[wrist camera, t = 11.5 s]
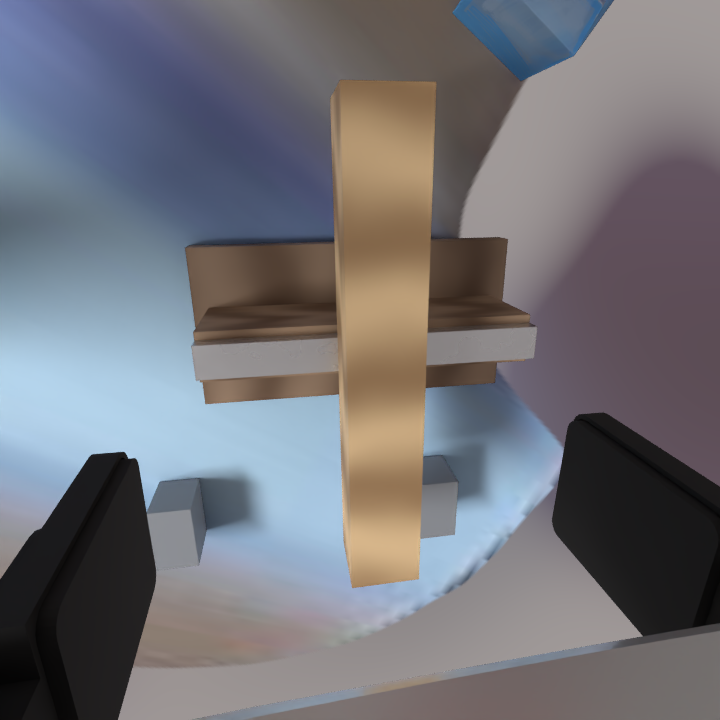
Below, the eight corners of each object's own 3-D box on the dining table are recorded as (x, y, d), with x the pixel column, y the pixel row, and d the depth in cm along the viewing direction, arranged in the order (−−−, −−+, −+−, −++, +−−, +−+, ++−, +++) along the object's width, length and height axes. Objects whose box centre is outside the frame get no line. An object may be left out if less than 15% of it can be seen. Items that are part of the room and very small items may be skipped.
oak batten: (330, 98, 23) (340, 80, 19) (411, 99, 23) (436, 81, 20) (343, 541, 31) (352, 587, 28) (402, 534, 32) (418, 579, 28)
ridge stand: (208, 395, 35) (187, 453, 28) (189, 245, 32) (159, 262, 24) (487, 376, 39) (540, 422, 31) (498, 237, 35) (562, 249, 27)
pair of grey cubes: (168, 534, 39) (156, 570, 35) (159, 482, 37) (146, 514, 33) (439, 504, 42) (454, 534, 38) (441, 455, 40) (458, 481, 37)
